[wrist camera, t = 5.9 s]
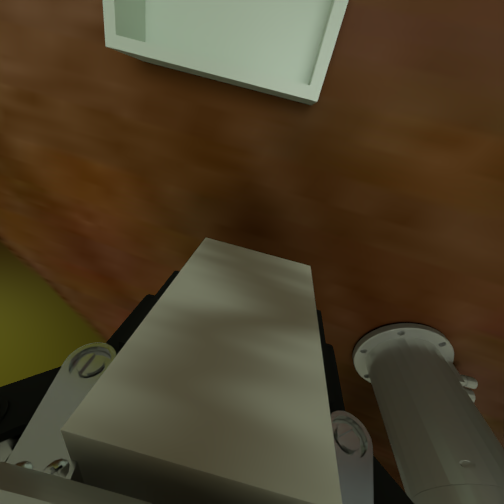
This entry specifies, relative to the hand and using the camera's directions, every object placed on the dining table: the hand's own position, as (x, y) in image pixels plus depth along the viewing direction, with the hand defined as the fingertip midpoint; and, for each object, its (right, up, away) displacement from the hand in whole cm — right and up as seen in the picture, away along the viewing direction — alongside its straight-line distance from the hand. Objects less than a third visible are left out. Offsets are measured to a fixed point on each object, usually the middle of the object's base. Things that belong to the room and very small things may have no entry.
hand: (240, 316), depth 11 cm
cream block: (0, +1, +1) cm, 2 cm away
